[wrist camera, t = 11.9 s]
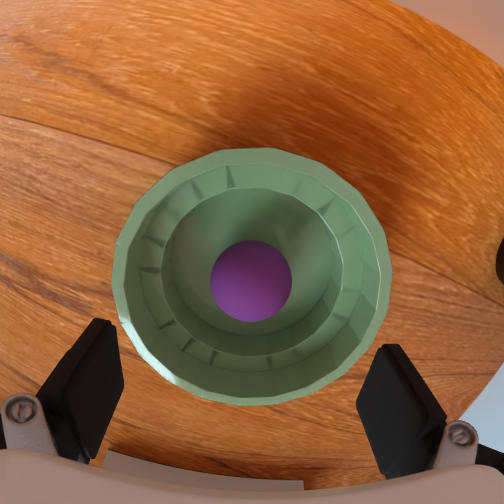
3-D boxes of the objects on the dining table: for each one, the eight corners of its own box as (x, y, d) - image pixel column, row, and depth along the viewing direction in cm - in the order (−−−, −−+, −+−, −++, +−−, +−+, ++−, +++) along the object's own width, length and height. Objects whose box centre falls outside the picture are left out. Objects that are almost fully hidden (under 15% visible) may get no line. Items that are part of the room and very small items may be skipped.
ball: (200, 261, 21) (186, 292, 16) (257, 216, 20) (259, 236, 16) (245, 311, 22) (244, 351, 18) (301, 272, 22) (314, 304, 17)
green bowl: (105, 247, 21) (65, 276, 16) (271, 104, 19) (279, 84, 13) (236, 382, 25) (234, 433, 19) (392, 277, 22) (428, 313, 17)
